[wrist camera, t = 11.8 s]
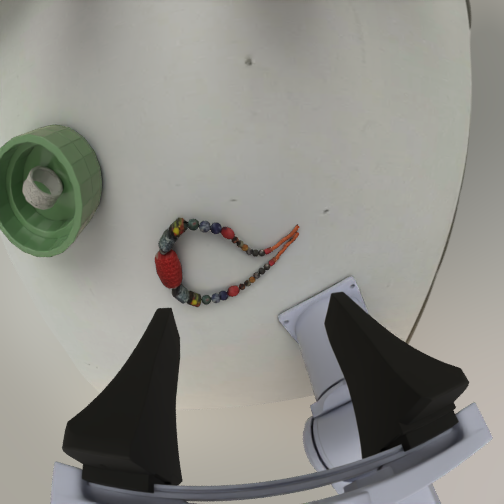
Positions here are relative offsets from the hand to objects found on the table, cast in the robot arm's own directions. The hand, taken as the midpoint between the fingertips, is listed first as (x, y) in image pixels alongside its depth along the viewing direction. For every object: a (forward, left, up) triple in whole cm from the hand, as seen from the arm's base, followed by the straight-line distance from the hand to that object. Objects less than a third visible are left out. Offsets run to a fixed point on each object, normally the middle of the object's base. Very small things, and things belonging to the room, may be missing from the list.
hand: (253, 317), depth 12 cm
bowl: (+11, +9, -9) cm, 17 cm away
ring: (+11, +9, -9) cm, 17 cm away
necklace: (-2, +2, -10) cm, 10 cm away
